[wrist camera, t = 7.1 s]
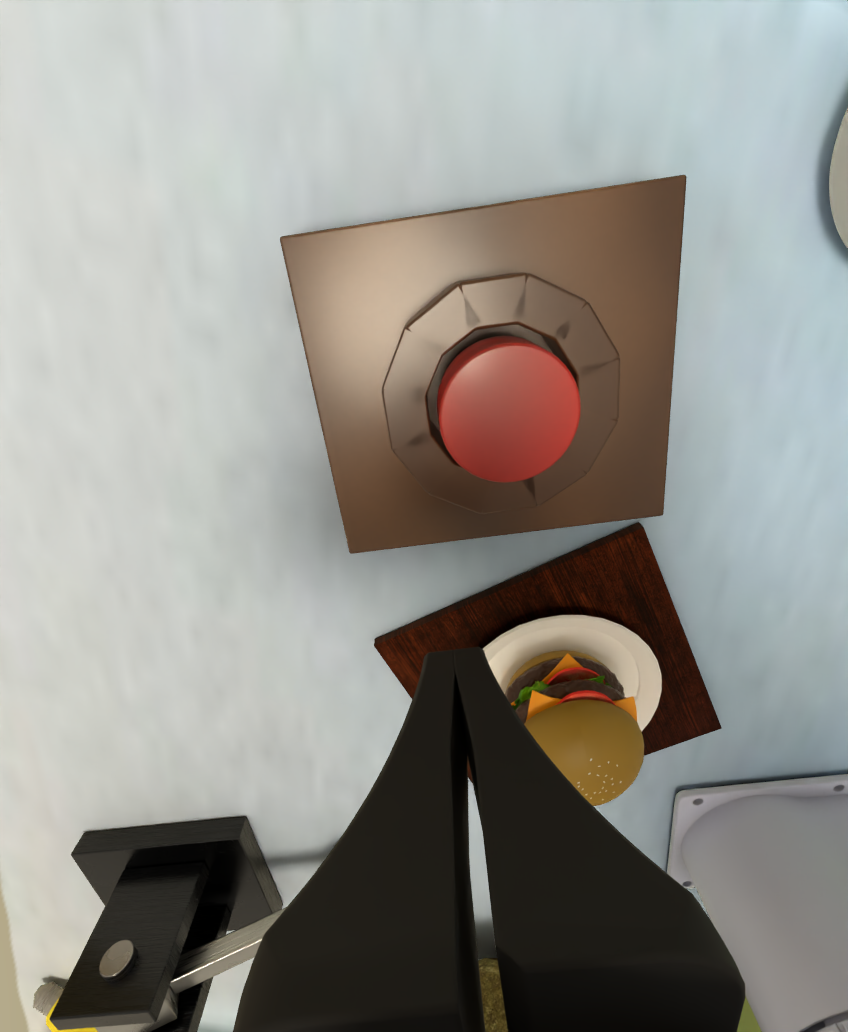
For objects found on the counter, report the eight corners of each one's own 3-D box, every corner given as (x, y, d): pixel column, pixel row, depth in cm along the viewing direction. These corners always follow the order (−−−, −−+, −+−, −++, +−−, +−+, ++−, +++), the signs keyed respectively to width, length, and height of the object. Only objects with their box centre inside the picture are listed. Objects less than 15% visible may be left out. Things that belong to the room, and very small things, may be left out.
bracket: (246, 815, 27) (190, 988, 21) (283, 903, 31) (245, 1076, 24) (83, 832, 28) (-23, 1006, 21) (137, 917, 31) (61, 1090, 24)
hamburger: (490, 801, 27) (506, 920, 22) (374, 639, 22) (362, 741, 17) (716, 720, 25) (792, 832, 20) (638, 522, 20) (710, 601, 15)
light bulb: (140, 999, 34) (125, 1025, 35) (67, 948, 34) (55, 975, 36) (98, 1064, 31) (83, 1090, 32) (18, 1006, 31) (7, 1034, 32)
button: (562, 326, 14) (581, 332, 12) (564, 454, 15) (582, 474, 14) (429, 345, 14) (430, 353, 12) (444, 470, 15) (447, 491, 14)
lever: (362, 839, 28) (376, 895, 25) (371, 873, 29) (386, 929, 26) (102, 954, 24) (87, 1031, 22) (125, 986, 26) (114, 1063, 23)
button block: (652, 187, 15) (725, 159, 12) (638, 491, 20) (689, 540, 16) (296, 241, 16) (260, 230, 12) (356, 527, 20) (342, 581, 16)
